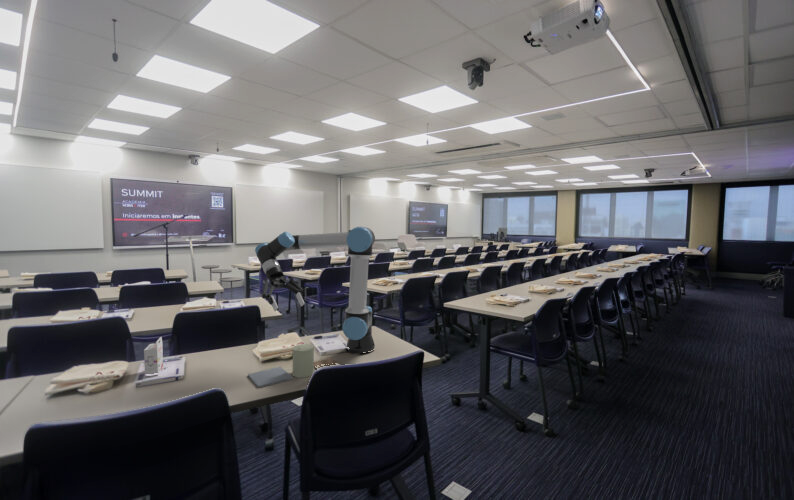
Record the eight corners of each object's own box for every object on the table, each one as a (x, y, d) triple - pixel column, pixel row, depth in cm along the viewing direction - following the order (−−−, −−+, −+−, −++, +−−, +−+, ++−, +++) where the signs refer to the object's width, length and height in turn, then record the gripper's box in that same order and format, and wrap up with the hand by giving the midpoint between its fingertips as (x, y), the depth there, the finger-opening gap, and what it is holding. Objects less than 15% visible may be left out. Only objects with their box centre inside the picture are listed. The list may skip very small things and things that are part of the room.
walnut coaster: (330, 359, 168) (330, 358, 168) (342, 366, 159) (342, 365, 159) (309, 364, 161) (309, 363, 161) (320, 372, 153) (320, 370, 152)
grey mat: (280, 368, 156) (280, 366, 156) (292, 378, 145) (292, 377, 145) (247, 376, 147) (247, 374, 147) (258, 387, 136) (258, 385, 136)
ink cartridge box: (150, 369, 151) (149, 336, 151) (163, 368, 153) (162, 335, 152) (143, 377, 144) (143, 342, 143) (158, 376, 145) (157, 341, 145)
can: (287, 374, 149) (287, 347, 149) (302, 367, 157) (302, 341, 157) (303, 379, 145) (303, 351, 144) (318, 371, 153) (318, 345, 152)
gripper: (292, 273, 177) (309, 307, 168) (244, 277, 158) (261, 316, 149) (298, 264, 173) (316, 298, 164) (250, 267, 154) (267, 306, 145)
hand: (290, 307), depth 156 cm, fingers open, 13 cm apart
